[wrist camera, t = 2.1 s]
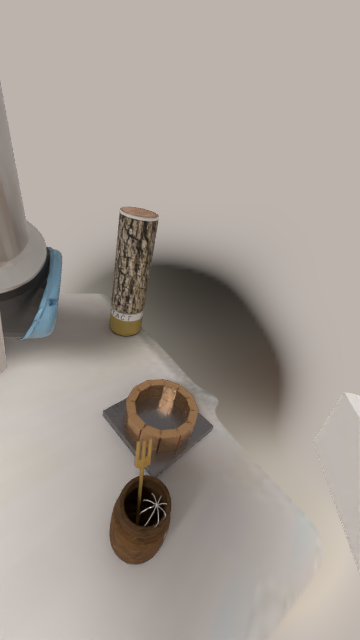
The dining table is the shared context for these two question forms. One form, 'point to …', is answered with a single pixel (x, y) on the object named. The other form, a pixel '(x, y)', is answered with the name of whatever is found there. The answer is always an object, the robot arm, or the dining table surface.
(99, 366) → the dining table surface
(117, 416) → the collar plate
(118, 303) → the paper tube
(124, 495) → the utensil holder
